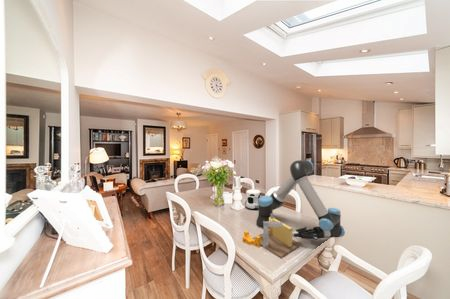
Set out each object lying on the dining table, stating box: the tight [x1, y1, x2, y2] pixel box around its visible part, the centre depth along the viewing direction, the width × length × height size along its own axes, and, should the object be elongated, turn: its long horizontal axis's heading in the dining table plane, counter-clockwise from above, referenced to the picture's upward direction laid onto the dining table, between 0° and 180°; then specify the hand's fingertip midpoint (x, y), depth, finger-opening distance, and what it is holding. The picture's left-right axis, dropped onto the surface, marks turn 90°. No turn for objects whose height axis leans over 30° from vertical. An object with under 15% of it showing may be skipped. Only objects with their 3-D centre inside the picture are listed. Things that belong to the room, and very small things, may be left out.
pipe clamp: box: [242, 230, 262, 248], centre depth 121 cm, size 12×4×6 cm, turn 46°
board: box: [251, 230, 303, 259], centre depth 122 cm, size 22×25×1 cm
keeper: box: [262, 221, 283, 249], centre depth 116 cm, size 12×3×17 cm, turn 80°
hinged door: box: [268, 212, 293, 247], centre depth 124 cm, size 20×4×15 cm, turn 26°
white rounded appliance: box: [244, 188, 262, 210], centre depth 188 cm, size 17×17×18 cm
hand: (288, 234), depth 119 cm, fingers closed
